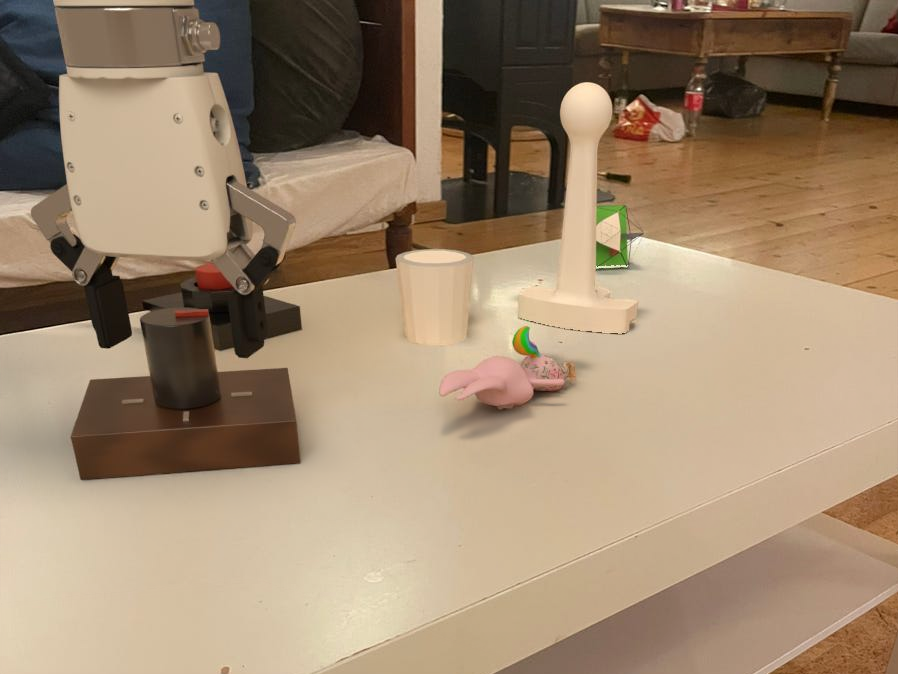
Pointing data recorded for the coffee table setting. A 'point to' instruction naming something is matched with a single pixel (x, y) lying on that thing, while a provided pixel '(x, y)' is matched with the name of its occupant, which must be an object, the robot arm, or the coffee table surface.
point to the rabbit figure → (509, 376)
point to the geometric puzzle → (613, 236)
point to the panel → (185, 427)
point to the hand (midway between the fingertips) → (182, 347)
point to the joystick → (580, 230)
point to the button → (210, 277)
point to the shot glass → (435, 295)
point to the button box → (227, 311)
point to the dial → (181, 357)
